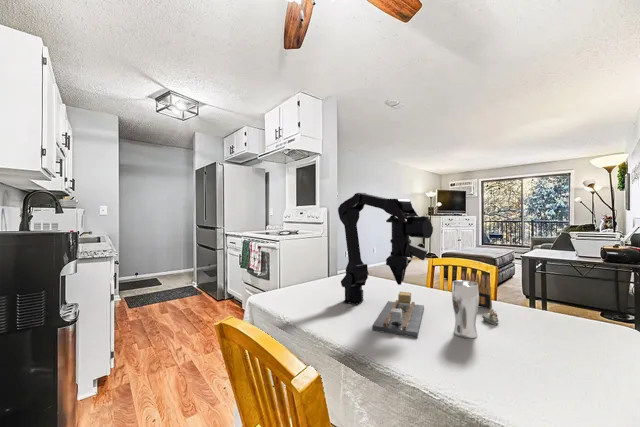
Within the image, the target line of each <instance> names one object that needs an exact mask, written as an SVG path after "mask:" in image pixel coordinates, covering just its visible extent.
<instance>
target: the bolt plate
mask: <svg viewBox="0 0 640 427" xmlns="http://www.w3.org/2000/svg"><path fill="white" fill-rule="evenodd" d="M392 308H396V309H402V321H401V322H398V324H395V322H394V321H391V309H392ZM424 311H425V305H423V304H422V305H421V304H416V302H415V301H411V302H410V304H406V303H398V299H396V300H395V301H387V302H386V304H385V305H384V307H383V308H382V309H381V311H380V312H379V314H378V316H377V317H376V318H375V321H374V322H373V324H372V326H371V328H372V329H371V330H372V331H375V332H381V333H387V334H393V335H399V336H403V337H404V336H405V337H410V338H417V339H418V338H419V334H420V329H421V325H422V322H423V321H422V320H423V315H424Z"/></svg>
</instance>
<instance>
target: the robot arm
mask: <svg viewBox="0 0 640 427" xmlns="http://www.w3.org/2000/svg"><path fill="white" fill-rule="evenodd" d="M365 206H370V207H373V208H377V209H381V210H383V211H384V212H385V213H387V214H388V215H390V216H389V218H387V219H386V220H385V222H386V223H390V224H391V239H390V241H389V242H390V244H391V251H390V255H389V256H388V257H386V259H385V265H386V266H388V267H389V269H390V270H391V273H392V275H393V276H394V277H393V278H394V279H395V281H396V284H397V285H398V286H401V285H402V282H404V280H405V276H406V271H407V268H408V267H409V264H410V263H411V262H412V261H413V260H412V259H414V257H415V258H418V259H419V260H421V261H425V259H426V256H427V254H428V248H426V247H425V244H424V243H421V242H419V243H418V244H414V243H412V240H411V239H410V238H420V239H429V238H431V237H432V235H433V233H434V232H433V231H434V227H433V223H432V222H431V221H430V216H428V215H425V216H424V215H423V216H419V215H418V213H417V211H416V210H415V209H414V207H413V205H412V202H411V200H410V199H409V198H387V197H386V198H385V197H383V196H378V195H373V194H368V193H367V192H356V193H354V194H353V196H351V197H350V198H348V199H346V200H344V201H343V202H341V203H340V205H339V206H338V208H337V211H338V212H337V213H338V217H339V220H340V221H341V223H342V224H343V226H344V233H345V235H344V236H345V241H346V242H345V243H346V250H347V258H348V261H347V264H346V268H345V275H344V276H343V278H342V279H341V280H340V284H341V287H342V288H344V300H343V303H345V304H351V305H352V304H353V305H361V303H363V301H364V289H363V286H365V285H366V282H367V280H368V279H369V274H370V273H369V271H368V269H369V268H368V267H369V266H368V264H367V263H364V262H363V261H362V257H361V248H360V240H359V232H358V222H359V219H360V212H361V211H362V210H363V209H364V208H365ZM409 258H410V259H409Z"/></svg>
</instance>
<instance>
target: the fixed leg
mask: <svg viewBox="0 0 640 427" xmlns="http://www.w3.org/2000/svg"><path fill="white" fill-rule="evenodd" d="M391 321H394V322H395V324H398V322H401V321H402V309H396V308H392V309H391Z"/></svg>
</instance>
